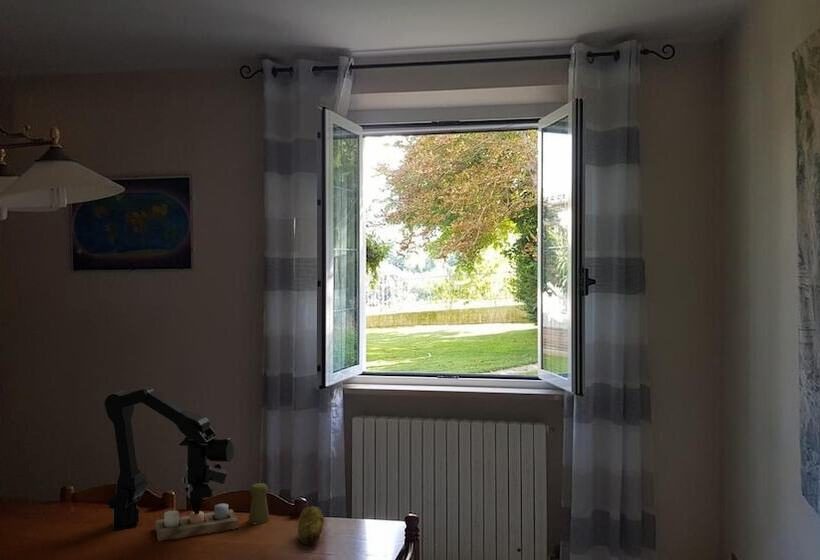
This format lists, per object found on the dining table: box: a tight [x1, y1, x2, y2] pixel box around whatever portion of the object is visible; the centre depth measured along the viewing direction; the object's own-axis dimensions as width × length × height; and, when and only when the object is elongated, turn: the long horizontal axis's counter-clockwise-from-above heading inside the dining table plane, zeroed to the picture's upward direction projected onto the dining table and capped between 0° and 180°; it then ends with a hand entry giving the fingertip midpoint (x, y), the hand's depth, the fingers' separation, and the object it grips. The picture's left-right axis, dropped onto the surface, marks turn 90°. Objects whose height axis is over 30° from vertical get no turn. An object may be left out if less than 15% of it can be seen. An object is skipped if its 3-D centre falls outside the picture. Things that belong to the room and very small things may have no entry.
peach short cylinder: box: [189, 510, 204, 524], centre depth 192 cm, size 4×4×4 cm
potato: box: [297, 505, 325, 546], centre depth 185 cm, size 8×13×8 cm, turn 169°
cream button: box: [163, 510, 180, 528], centre depth 189 cm, size 4×4×4 cm
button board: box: [155, 508, 239, 542], centre depth 192 cm, size 22×10×2 cm, turn 115°
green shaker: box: [248, 482, 270, 525], centre depth 199 cm, size 6×6×11 cm
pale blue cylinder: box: [213, 503, 229, 520], centre depth 195 cm, size 4×4×4 cm
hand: (196, 513), depth 192 cm, fingers closed
